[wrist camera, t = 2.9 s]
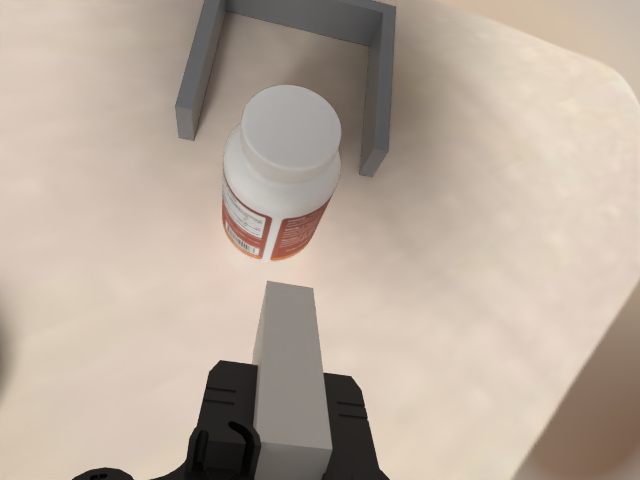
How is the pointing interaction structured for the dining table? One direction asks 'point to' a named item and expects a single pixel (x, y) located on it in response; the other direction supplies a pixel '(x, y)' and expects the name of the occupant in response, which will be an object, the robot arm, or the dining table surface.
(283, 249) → the pill bottle
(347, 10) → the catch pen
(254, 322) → the dining table surface
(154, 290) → the dining table surface
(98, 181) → the dining table surface
